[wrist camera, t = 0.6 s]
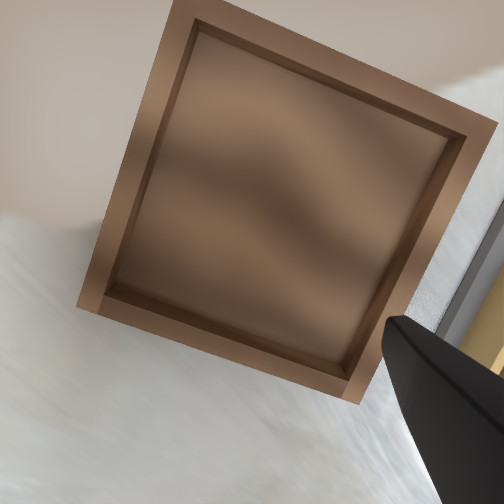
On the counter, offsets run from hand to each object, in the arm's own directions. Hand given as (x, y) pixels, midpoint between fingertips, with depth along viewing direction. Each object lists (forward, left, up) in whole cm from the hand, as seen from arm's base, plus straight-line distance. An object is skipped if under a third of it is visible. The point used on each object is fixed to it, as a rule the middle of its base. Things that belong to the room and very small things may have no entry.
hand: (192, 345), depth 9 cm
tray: (+3, -2, -15) cm, 16 cm away
